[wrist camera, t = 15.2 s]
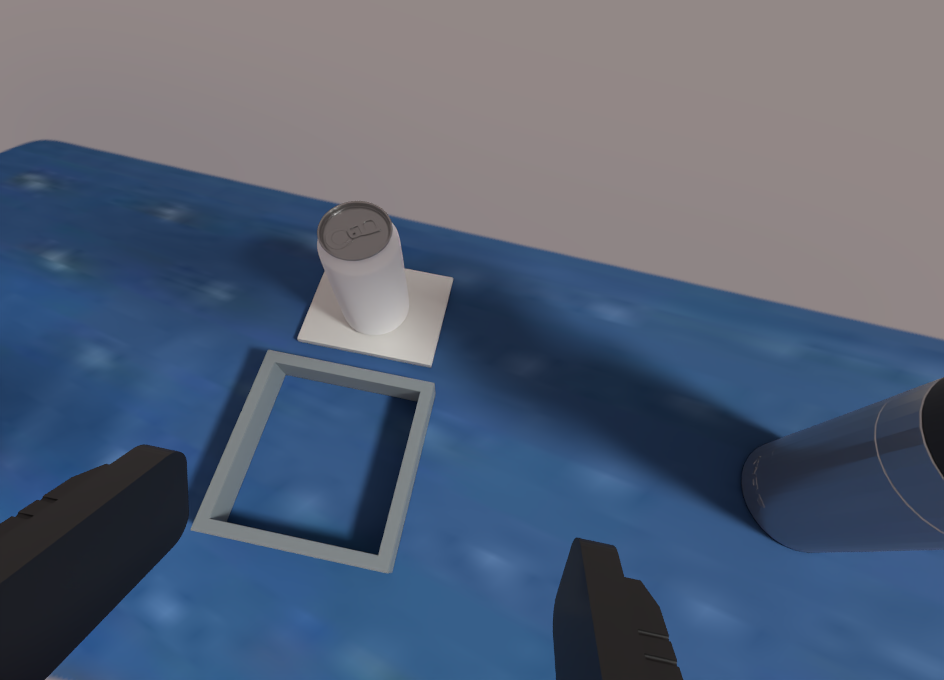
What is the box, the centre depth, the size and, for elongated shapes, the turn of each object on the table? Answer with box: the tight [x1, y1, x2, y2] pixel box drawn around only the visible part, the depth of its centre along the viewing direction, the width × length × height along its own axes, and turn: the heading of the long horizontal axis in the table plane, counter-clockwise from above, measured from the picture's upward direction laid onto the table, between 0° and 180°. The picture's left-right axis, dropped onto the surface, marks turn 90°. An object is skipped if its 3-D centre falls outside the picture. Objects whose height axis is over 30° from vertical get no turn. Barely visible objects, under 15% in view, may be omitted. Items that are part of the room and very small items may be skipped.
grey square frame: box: [191, 350, 435, 573], centre depth 38 cm, size 15×15×3 cm
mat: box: [297, 268, 453, 368], centre depth 46 cm, size 13×10×1 cm
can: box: [317, 201, 409, 335], centre depth 40 cm, size 6×6×12 cm
